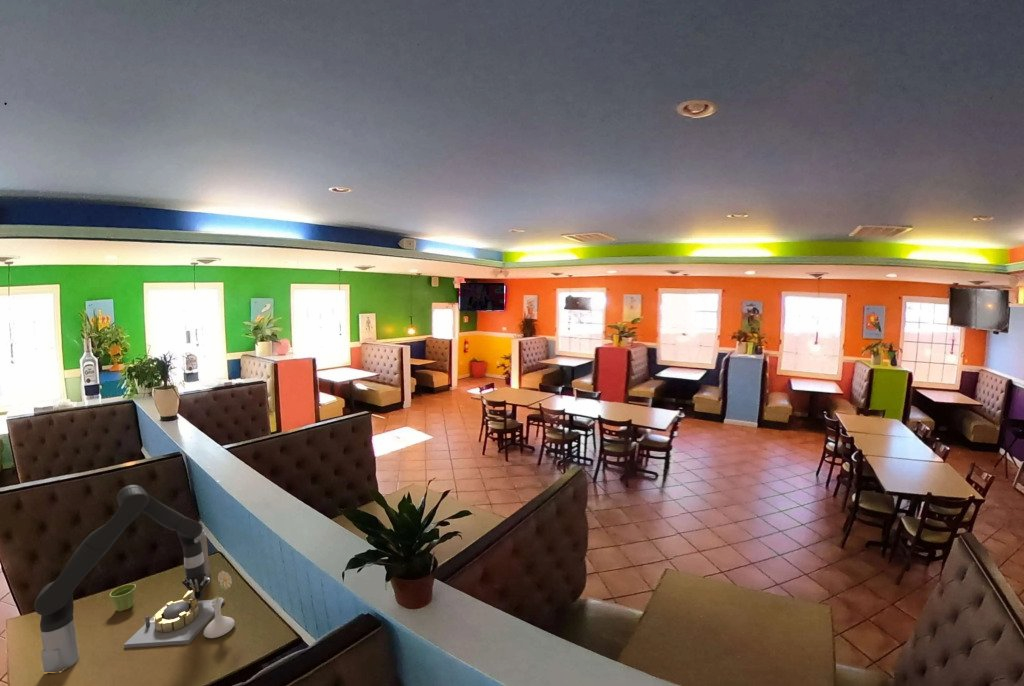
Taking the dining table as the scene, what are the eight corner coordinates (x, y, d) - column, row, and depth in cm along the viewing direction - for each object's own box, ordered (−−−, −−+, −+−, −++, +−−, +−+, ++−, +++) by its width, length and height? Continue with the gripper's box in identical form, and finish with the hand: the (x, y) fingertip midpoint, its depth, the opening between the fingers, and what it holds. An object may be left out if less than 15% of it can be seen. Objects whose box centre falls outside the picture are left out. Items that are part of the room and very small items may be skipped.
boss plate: (189, 643, 191) (187, 626, 190) (123, 648, 190) (121, 631, 189) (224, 602, 217) (223, 587, 216) (166, 605, 215) (165, 590, 215)
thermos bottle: (199, 572, 242) (194, 521, 239) (213, 572, 241) (208, 521, 238) (187, 581, 234) (182, 529, 231) (202, 582, 233) (196, 529, 230)
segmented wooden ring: (188, 628, 197) (186, 617, 196) (147, 634, 194) (145, 623, 193) (211, 596, 218) (210, 586, 218) (174, 601, 215) (173, 591, 215)
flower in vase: (220, 642, 191) (214, 586, 188) (197, 639, 193) (191, 583, 191) (244, 621, 204) (239, 567, 201) (222, 618, 206) (217, 565, 203)
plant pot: (123, 615, 210) (121, 597, 209) (106, 613, 212) (104, 595, 211) (143, 601, 219) (141, 584, 218) (126, 600, 221) (124, 583, 220)
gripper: (213, 558, 217) (218, 592, 218) (186, 558, 217) (190, 593, 219) (202, 567, 209) (207, 602, 211) (174, 568, 210) (179, 603, 211)
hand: (198, 597), depth 215 cm, fingers closed
